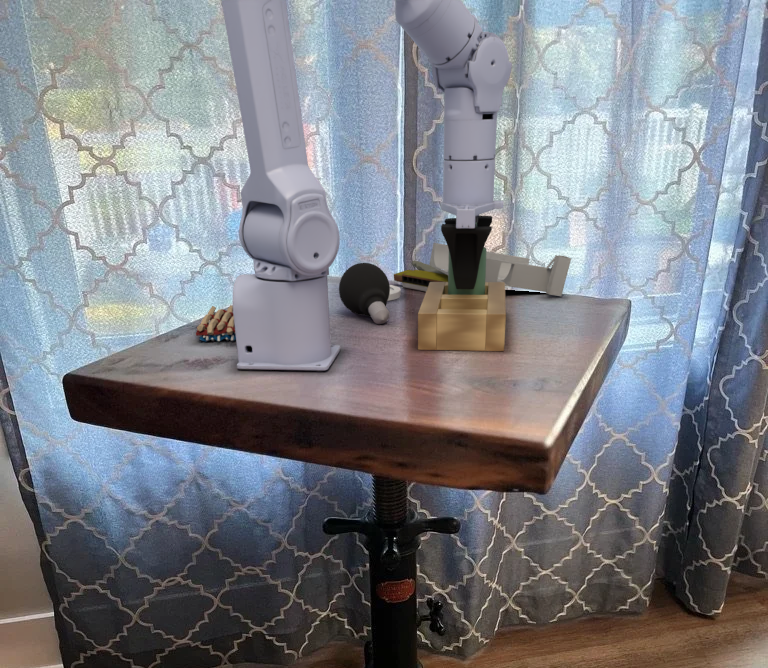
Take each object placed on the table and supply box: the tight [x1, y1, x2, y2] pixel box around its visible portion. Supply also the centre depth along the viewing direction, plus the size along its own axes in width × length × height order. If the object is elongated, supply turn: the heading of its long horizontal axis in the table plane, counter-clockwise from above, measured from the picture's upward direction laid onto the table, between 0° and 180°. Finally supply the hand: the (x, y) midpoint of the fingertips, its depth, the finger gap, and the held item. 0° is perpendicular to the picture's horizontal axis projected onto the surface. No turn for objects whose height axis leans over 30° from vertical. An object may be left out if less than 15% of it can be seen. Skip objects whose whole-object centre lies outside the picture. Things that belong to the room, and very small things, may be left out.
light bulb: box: [338, 262, 391, 325], centre depth 97 cm, size 6×6×10 cm
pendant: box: [387, 284, 402, 302], centre depth 111 cm, size 7×11×1 cm, turn 34°
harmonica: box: [393, 269, 448, 293], centre depth 111 cm, size 15×3×2 cm, turn 41°
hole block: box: [417, 282, 507, 352], centre depth 91 cm, size 9×17×4 cm, turn 173°
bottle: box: [448, 216, 488, 295], centre depth 92 cm, size 4×4×10 cm
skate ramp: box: [428, 238, 572, 297], centre depth 109 cm, size 15×13×5 cm
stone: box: [411, 260, 447, 275], centre depth 120 cm, size 13×2×5 cm
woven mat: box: [195, 304, 236, 343], centre depth 93 cm, size 10×11×2 cm
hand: (465, 284), depth 93 cm, fingers closed on bottle, 4 cm apart
